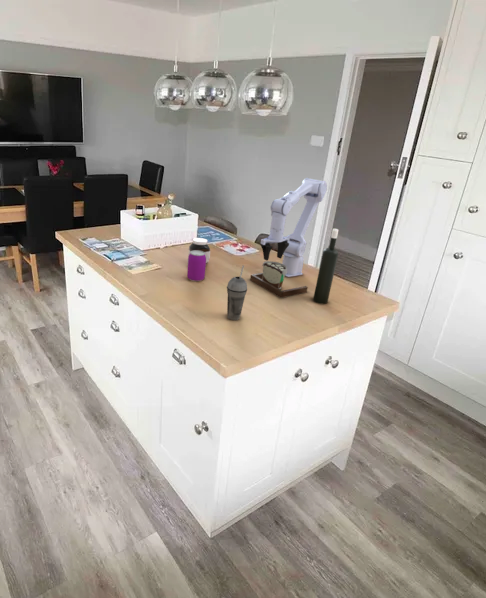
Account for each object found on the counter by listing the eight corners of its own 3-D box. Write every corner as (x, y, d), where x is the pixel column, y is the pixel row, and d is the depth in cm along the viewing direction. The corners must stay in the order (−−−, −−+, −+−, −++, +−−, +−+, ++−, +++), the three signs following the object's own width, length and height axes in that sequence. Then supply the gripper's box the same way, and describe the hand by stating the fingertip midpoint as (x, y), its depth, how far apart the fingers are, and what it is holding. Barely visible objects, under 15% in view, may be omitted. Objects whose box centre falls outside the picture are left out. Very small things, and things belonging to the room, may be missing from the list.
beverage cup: (222, 312, 153) (227, 261, 145) (241, 313, 154) (248, 262, 146) (224, 321, 147) (231, 268, 138) (245, 322, 147) (252, 269, 139)
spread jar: (205, 260, 205) (207, 237, 200) (213, 268, 195) (215, 244, 190) (182, 261, 201) (183, 237, 196) (189, 269, 191) (190, 245, 186)
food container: (290, 290, 177) (294, 268, 173) (280, 293, 174) (283, 270, 170) (269, 280, 186) (273, 259, 182) (259, 282, 183) (262, 261, 179)
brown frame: (275, 275, 192) (276, 270, 191) (306, 292, 177) (307, 286, 176) (250, 279, 185) (250, 274, 184) (280, 297, 170) (281, 292, 168)
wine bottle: (312, 302, 168) (327, 229, 155) (314, 296, 173) (328, 226, 160) (326, 305, 166) (343, 231, 154) (328, 299, 171) (344, 228, 158)
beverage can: (188, 274, 185) (189, 248, 180) (205, 276, 185) (207, 250, 180) (185, 281, 178) (187, 254, 173) (203, 283, 178) (205, 256, 173)
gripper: (283, 224, 182) (278, 254, 188) (257, 227, 175) (253, 257, 181) (294, 228, 177) (289, 259, 183) (268, 231, 170) (264, 263, 176)
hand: (272, 258), depth 181 cm, fingers open, 7 cm apart
